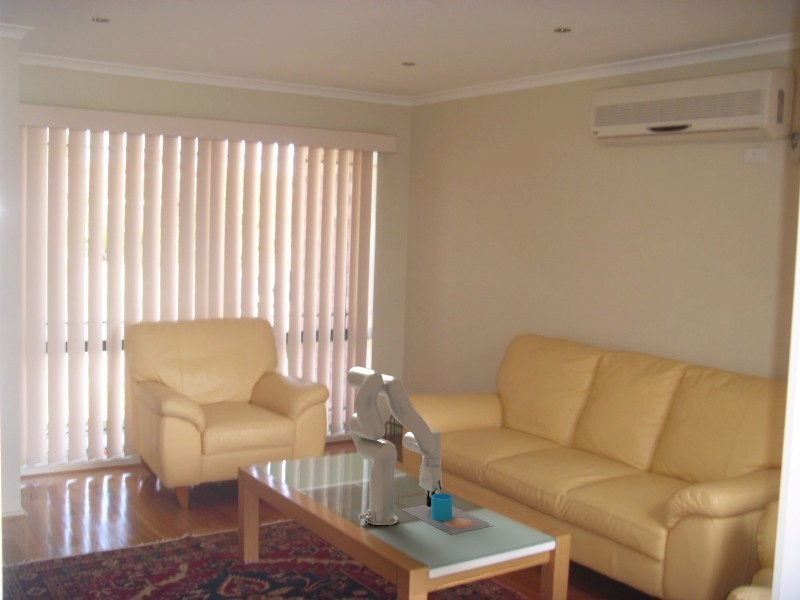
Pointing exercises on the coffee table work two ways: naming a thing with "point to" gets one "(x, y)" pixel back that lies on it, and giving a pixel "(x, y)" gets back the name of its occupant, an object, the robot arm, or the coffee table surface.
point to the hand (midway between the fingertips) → (431, 506)
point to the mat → (454, 525)
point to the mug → (441, 506)
